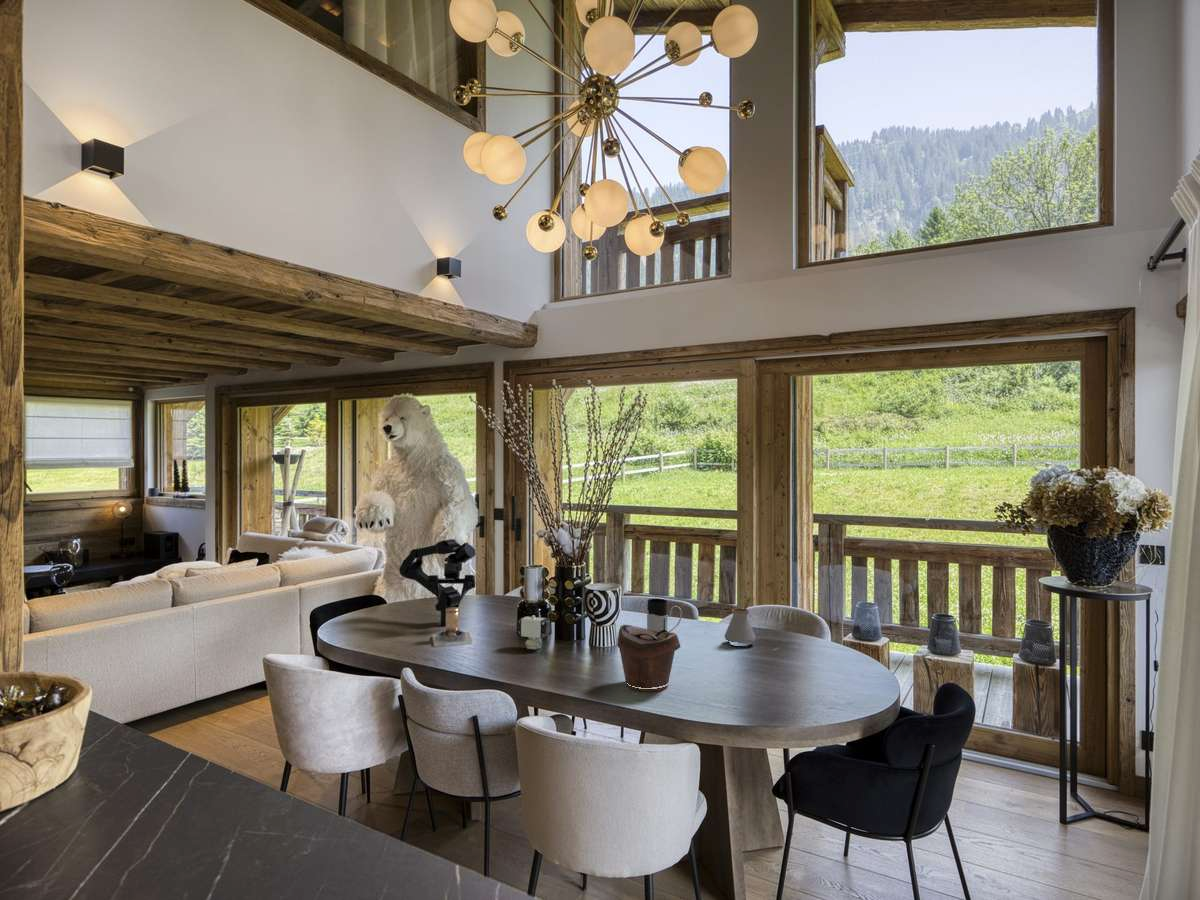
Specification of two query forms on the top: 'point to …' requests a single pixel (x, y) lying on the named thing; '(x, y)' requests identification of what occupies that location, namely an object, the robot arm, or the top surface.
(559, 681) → the top surface
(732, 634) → the coffee pot
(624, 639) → the brown flower pot
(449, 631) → the copper cylindrical jar
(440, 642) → the duct collar plate
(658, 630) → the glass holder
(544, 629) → the pneumatic valve
